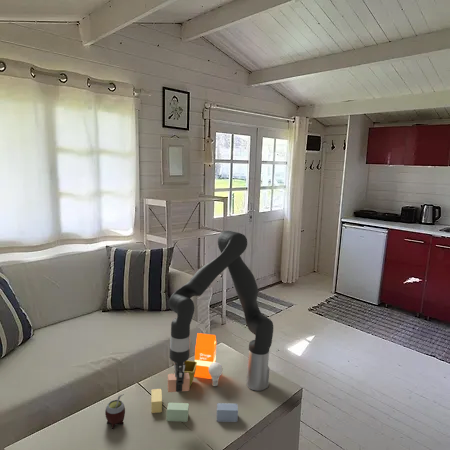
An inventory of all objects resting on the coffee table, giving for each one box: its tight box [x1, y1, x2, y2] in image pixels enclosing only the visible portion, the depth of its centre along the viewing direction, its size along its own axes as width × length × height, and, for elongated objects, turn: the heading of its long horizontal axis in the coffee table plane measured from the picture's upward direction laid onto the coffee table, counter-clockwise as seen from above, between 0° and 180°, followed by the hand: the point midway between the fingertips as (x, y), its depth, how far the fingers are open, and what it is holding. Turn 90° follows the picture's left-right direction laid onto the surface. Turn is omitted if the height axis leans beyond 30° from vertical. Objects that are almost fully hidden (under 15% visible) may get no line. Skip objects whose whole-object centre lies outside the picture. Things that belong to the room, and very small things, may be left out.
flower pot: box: [173, 360, 197, 388], centre depth 158 cm, size 9×9×9 cm
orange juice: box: [194, 332, 217, 380], centre depth 166 cm, size 8×9×20 cm
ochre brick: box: [150, 388, 163, 414], centre depth 143 cm, size 8×4×5 cm, turn 12°
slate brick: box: [216, 402, 239, 423], centre depth 138 cm, size 8×4×5 cm, turn 92°
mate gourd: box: [104, 393, 126, 430], centre depth 131 cm, size 8×8×15 cm
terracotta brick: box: [167, 373, 190, 393], centre depth 135 cm, size 8×4×5 cm, turn 102°
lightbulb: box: [208, 361, 224, 387], centre depth 158 cm, size 6×6×11 cm
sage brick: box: [166, 402, 190, 423], centre depth 137 cm, size 8×4×5 cm, turn 91°
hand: (178, 387), depth 135 cm, fingers closed on terracotta brick, 4 cm apart
